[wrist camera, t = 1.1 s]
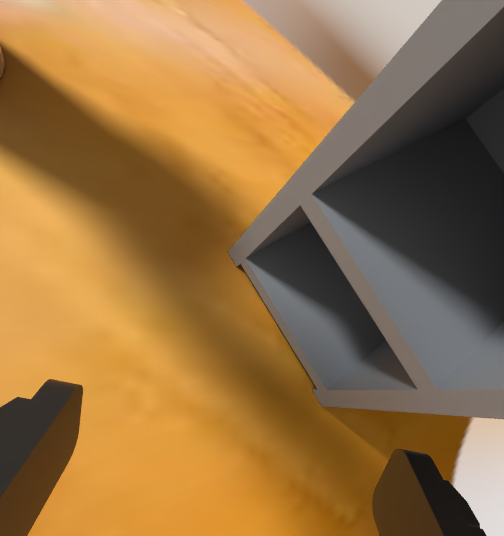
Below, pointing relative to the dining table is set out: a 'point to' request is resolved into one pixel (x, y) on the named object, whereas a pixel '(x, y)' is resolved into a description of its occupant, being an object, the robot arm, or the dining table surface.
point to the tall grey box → (400, 232)
